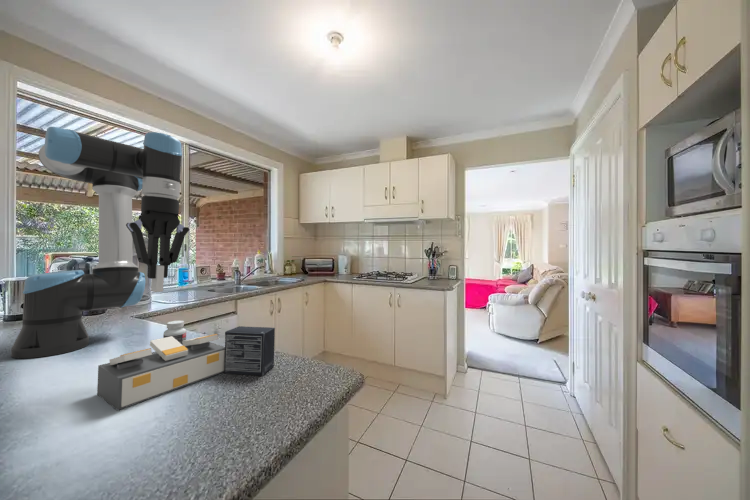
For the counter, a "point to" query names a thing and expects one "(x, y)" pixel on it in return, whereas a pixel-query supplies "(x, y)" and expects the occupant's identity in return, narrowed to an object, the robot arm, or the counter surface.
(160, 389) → the console
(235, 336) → the small box
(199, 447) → the counter surface
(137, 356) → the switch
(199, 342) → the switch
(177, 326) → the pill bottle
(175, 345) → the switch
